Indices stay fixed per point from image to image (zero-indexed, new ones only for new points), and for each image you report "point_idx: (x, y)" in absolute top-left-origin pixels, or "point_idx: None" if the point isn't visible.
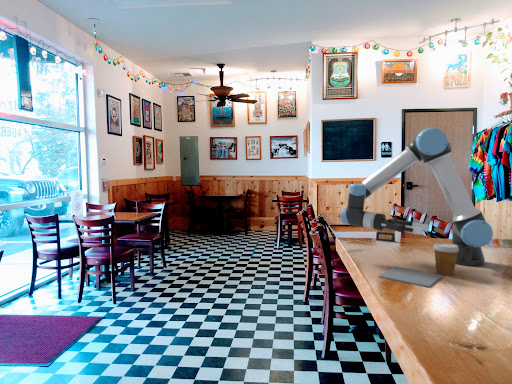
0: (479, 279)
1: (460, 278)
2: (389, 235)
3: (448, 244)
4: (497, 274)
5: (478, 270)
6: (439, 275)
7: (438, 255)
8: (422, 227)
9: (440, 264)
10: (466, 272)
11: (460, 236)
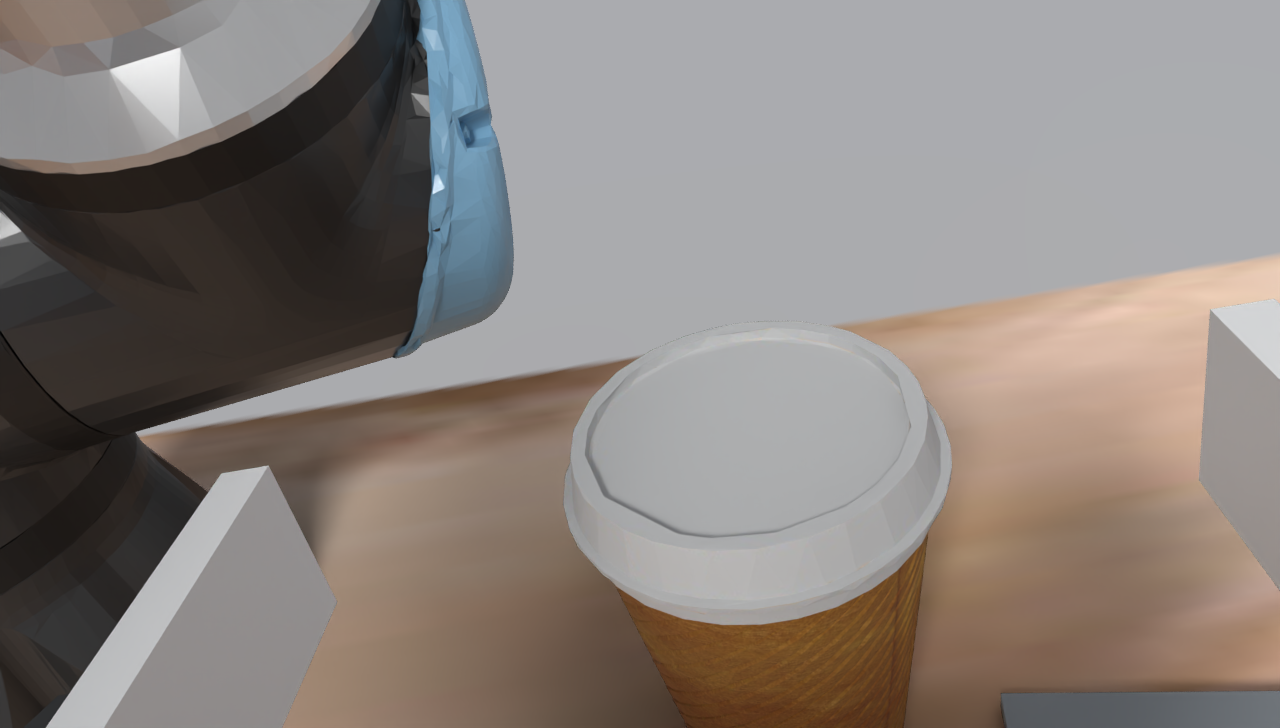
0: None
1: None
2: None
3: (600, 440)
4: (516, 416)
5: (441, 525)
6: (1021, 721)
7: (912, 585)
8: (253, 655)
9: (910, 653)
10: (583, 577)
11: (358, 309)
